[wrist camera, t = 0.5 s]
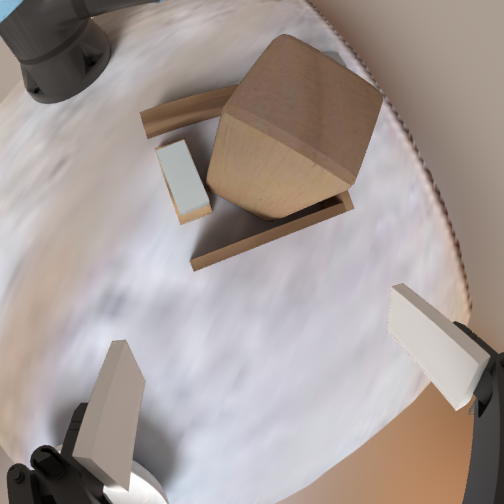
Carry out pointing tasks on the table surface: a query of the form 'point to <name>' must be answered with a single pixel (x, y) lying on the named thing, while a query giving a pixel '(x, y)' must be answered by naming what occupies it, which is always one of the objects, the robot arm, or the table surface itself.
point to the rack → (211, 107)
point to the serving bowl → (137, 487)
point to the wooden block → (292, 131)
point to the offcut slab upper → (182, 177)
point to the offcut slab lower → (182, 219)
